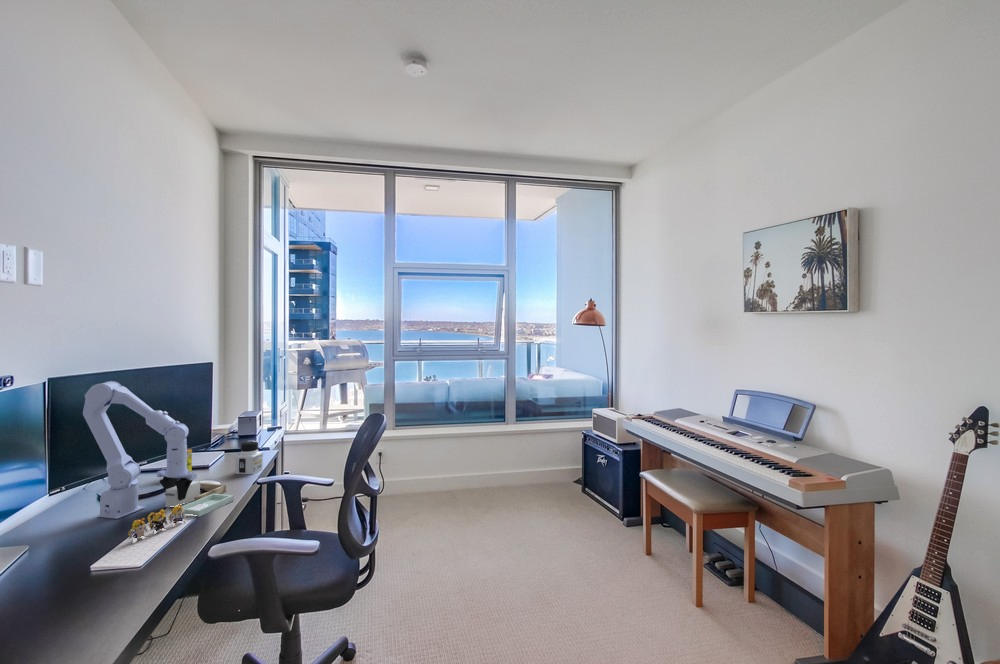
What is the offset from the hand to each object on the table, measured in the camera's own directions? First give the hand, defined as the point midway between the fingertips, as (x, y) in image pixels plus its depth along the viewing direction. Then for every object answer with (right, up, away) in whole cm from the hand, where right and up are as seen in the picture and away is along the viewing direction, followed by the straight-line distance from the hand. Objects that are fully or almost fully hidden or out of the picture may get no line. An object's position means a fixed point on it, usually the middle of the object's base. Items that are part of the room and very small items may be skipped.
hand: (176, 498), depth 157 cm
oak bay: (+2, -2, +9) cm, 9 cm away
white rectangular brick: (+1, -2, +3) cm, 3 cm away
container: (+4, -3, +39) cm, 39 cm away
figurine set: (+9, -3, -20) cm, 23 cm away
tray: (+11, -3, -2) cm, 12 cm away
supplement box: (-20, -3, +30) cm, 37 cm away
